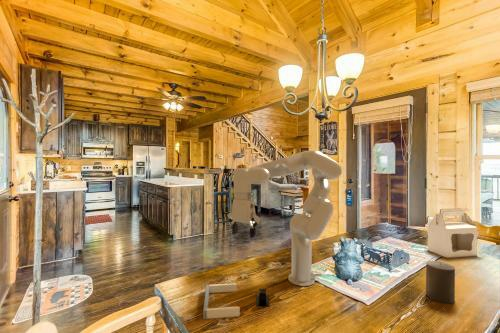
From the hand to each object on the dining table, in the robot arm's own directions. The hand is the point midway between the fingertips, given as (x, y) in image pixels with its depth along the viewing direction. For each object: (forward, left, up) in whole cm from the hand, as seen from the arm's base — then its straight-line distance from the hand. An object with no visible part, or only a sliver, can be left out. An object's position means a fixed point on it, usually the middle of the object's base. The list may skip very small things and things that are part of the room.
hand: (243, 235), depth 109 cm
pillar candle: (-82, +15, -25) cm, 87 cm away
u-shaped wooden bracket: (+9, +8, -25) cm, 28 cm away
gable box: (-135, -31, -25) cm, 141 cm away
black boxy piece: (-7, +8, -26) cm, 28 cm away
